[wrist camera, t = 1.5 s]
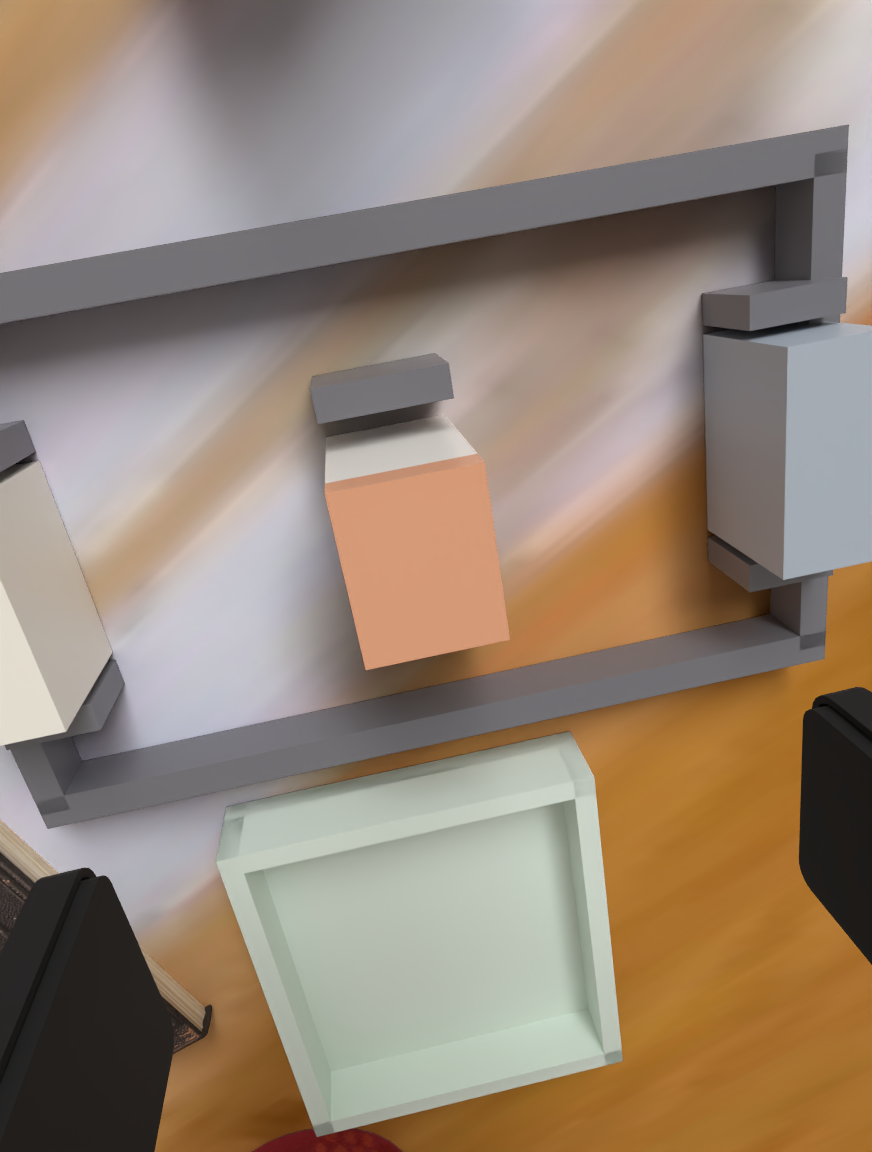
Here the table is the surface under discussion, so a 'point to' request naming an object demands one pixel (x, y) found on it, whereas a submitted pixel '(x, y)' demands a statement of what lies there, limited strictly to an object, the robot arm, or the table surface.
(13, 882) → the hardcover book
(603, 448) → the table surface
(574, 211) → the fuse holder strip
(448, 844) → the parts tray
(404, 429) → the orange and white block
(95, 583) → the table surface
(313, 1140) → the canned food
